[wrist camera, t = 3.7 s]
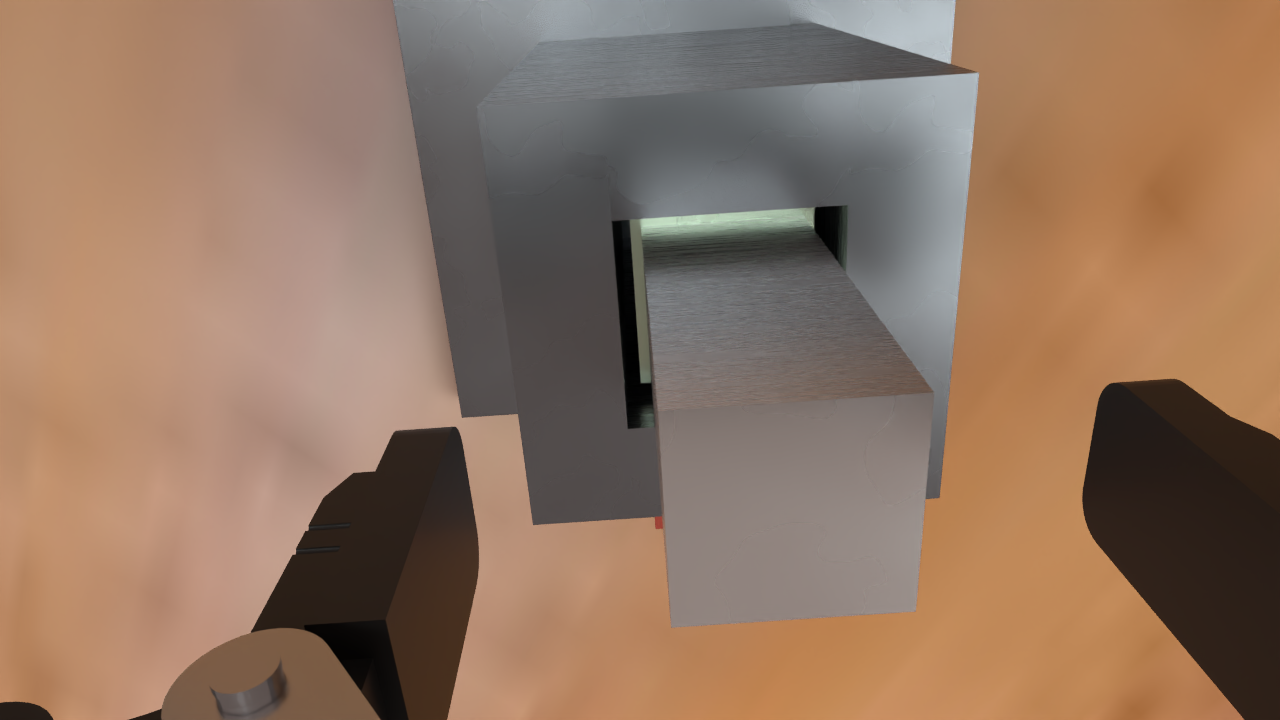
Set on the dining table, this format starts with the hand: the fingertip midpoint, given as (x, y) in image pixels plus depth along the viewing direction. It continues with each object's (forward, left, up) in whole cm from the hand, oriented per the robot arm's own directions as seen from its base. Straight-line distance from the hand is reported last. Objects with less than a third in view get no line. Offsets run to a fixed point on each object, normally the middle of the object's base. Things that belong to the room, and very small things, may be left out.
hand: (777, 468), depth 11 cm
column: (0, 0, -17) cm, 17 cm away
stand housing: (0, 0, -19) cm, 19 cm away
